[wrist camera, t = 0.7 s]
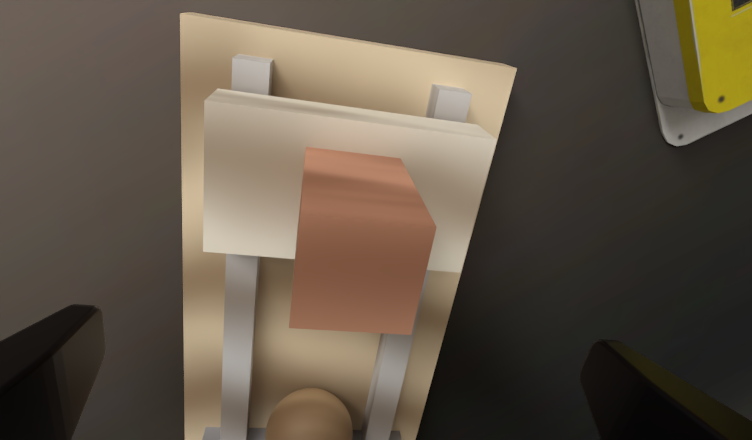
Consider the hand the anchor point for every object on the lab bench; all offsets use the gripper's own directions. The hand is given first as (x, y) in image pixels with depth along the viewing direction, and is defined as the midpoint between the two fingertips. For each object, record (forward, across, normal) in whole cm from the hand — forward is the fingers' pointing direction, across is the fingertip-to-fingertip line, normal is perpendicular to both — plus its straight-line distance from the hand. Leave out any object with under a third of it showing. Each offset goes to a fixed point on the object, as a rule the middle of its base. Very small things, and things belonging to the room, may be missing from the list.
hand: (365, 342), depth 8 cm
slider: (+9, 0, 0) cm, 9 cm away
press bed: (+12, 0, +7) cm, 14 cm away
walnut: (+11, 0, +13) cm, 17 cm away
